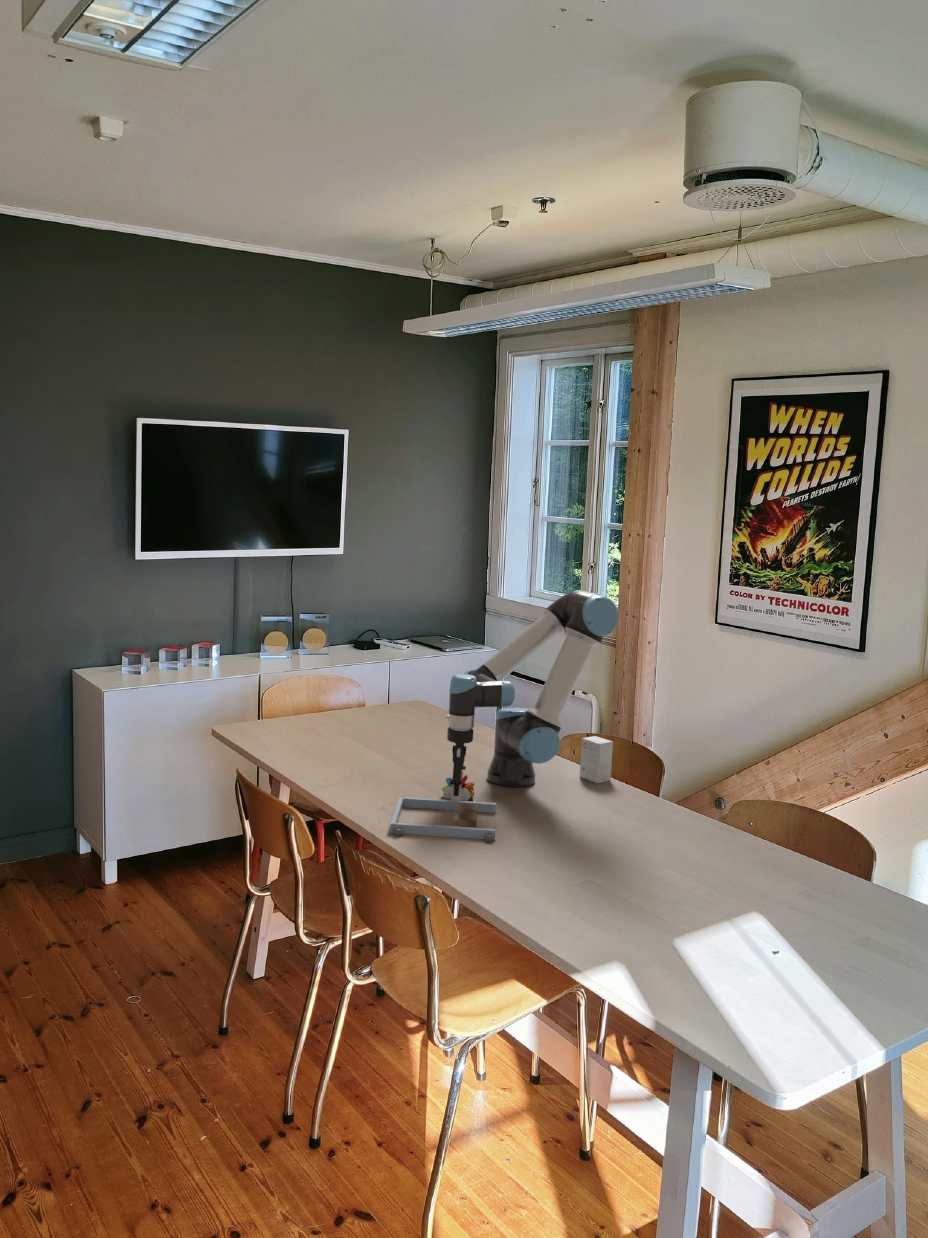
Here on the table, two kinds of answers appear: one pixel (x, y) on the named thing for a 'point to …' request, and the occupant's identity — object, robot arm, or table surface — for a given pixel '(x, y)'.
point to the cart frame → (436, 829)
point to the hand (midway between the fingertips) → (456, 798)
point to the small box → (596, 759)
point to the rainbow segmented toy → (466, 789)
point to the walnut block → (467, 815)
